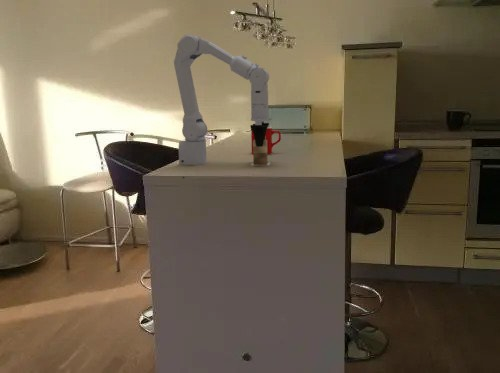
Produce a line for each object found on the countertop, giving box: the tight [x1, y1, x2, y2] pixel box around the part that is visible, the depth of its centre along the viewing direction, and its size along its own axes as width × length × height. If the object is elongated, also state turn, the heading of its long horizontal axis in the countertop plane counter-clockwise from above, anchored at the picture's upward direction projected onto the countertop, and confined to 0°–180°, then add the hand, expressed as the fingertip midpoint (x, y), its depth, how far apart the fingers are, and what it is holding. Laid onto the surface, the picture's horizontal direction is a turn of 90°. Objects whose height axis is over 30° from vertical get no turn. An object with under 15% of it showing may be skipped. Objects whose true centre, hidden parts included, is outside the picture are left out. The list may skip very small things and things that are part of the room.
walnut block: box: [252, 153, 269, 166], centre depth 166 cm, size 4×4×4 cm
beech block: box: [253, 140, 267, 153], centre depth 166 cm, size 4×4×4 cm
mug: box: [250, 126, 282, 156], centre depth 200 cm, size 12×8×11 cm
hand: (260, 145), depth 165 cm, fingers open, 7 cm apart
